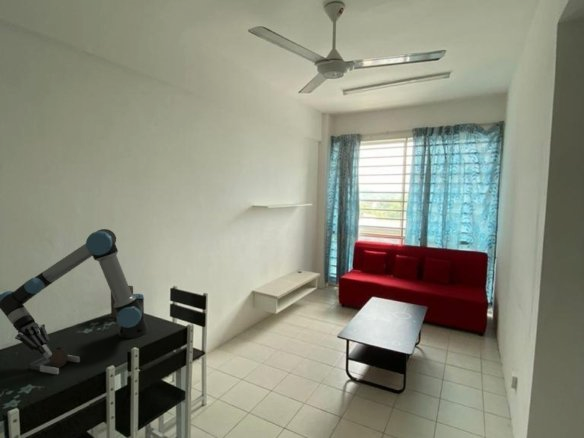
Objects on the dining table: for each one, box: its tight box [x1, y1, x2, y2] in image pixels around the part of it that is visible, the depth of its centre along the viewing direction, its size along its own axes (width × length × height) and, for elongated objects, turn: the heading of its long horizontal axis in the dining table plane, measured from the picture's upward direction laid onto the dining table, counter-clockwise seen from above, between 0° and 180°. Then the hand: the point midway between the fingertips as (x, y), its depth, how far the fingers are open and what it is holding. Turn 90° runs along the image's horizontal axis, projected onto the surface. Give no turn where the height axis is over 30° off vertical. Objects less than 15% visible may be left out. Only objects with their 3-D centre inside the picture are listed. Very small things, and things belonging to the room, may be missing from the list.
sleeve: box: [39, 354, 81, 375], centre depth 151 cm, size 10×12×2 cm
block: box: [110, 285, 134, 319], centre depth 213 cm, size 10×10×20 cm
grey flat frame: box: [27, 356, 51, 372], centre depth 153 cm, size 7×11×2 cm, turn 167°
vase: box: [50, 346, 69, 369], centre depth 151 cm, size 7×7×9 cm
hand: (50, 357), depth 151 cm, fingers closed
